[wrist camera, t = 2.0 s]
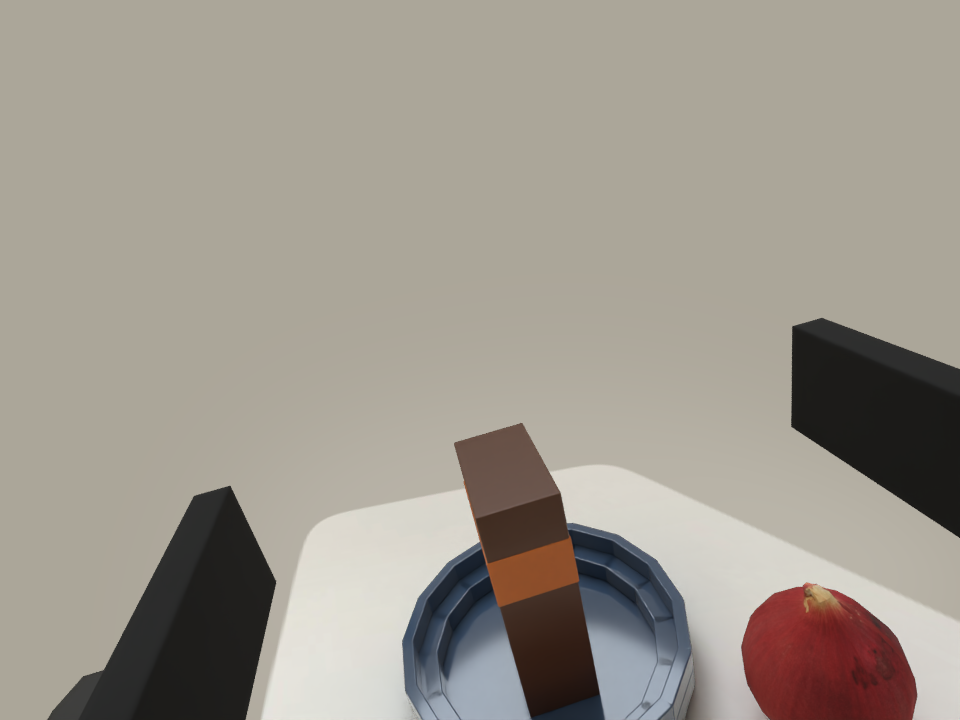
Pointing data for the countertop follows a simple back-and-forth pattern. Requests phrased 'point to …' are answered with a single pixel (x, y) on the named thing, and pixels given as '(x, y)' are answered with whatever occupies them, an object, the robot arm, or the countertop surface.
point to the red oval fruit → (825, 660)
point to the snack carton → (530, 566)
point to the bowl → (611, 627)
